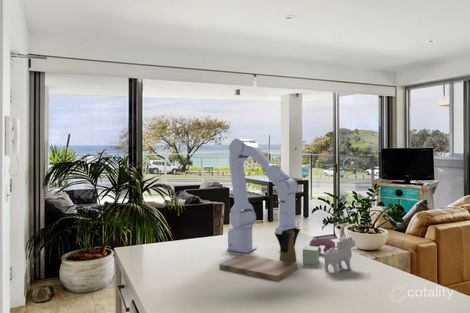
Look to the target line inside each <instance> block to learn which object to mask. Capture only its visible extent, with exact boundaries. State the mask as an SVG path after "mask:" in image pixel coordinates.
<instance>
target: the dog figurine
mask: <svg viewBox="0 0 470 313" xmlns="http://www.w3.org/2000/svg"><path fill="white" fill-rule="evenodd" d="M355 246H356V242H355V240H354V239H353V237H352V236H348V237H347V234H343V235H342V237H341V238H340V240H338V241H337V242H336V245H335V248H331V249H329V250H328V251H326V253H325V252H324V254H323V259H324V270H325V271H326V272H327V271H329V266H332V267H333V274H339V271H338V267H340V268H341V267H343V264H342V262H343V261H344V264H345V266H346V269H347V270H348V271H349V270H350V269H351V270H352V267H351V259H352V256H353V253H352V248H355Z"/></svg>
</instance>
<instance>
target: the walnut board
mask: <svg viewBox="0 0 470 313" xmlns="http://www.w3.org/2000/svg"><path fill="white" fill-rule="evenodd" d="M218 269H219V270H224V271H229V272H234V273H239V274H243V275H249V276H252V277H253V276H254V277H258V278H262V279H266V280H267V279H268V280H272V281H276V282H277V281H278V282H279V281H280V280H281V279H283V278H284V277H286V276H288V275H289V274H291V273H292V272H294V271H296V270H297V269H298V263H295V262H284V261H280V260H278V259H273V258H272V259H271V258H267V257H261V256H260V257H259V256H254V255H249V254H245V253H244V254H243V253H242V254H240V255H237V256H234V257H232V258H230V259H229V260H225V261H223V262H222V263H219V268H218Z"/></svg>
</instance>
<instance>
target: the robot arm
mask: <svg viewBox="0 0 470 313" xmlns="http://www.w3.org/2000/svg"><path fill="white" fill-rule="evenodd" d="M228 149H229V150H228V151H229V158H228V163H229V170H230V177H231V178H230V179H231V185H232V186H231V187H232V194H233V202H234V204H233V206H232V207H231V208H230V210H229V211H230V216H229V222H230V225H231V226H230V227H229V228H228V231H227V247H226V250H227V251H233V252H238V253H239V252H240V253H244V254H247V253H249V252H252V251H254V250H256V249H257V247H256V246H253V227H254V224H255V223H256V220H257V215H256V212H255V210H254V206H253V205H252V204H251V203H250V202H249V197H248V189H247V183H246V182H247V181H246V174H245V168H244V167H245V166H244V163H245V161H247V159H249V158H252V159H253V160H255V161H256V163H257V164H258V165H260V166H261V168H263V169H264V175H265V176H266V178H267V179H269V181H270V182H271V183H272V184H273V185H274V186H275V192H276V194H277V196H278V203H279V204H278V205H279V206H278V208H279V210H278V216H279V224H278V225H277V227H276V228H275V231H274V235H275V237H276V239H277V241H278V244H279V249H280V248H281V252H285V253H287V252H288V244H289V239H290V236H291V234H289V233H287V232H286V231H287V230H288V229H292V230H294V232H295V237H294V238H293V239H294V246H295V247H296V242H297V238H298V235H299V233H300V232H301V229H300V228H299V227H300V226H299V221H297V220H296V193H297V192H298V190H299V185H298V184H299V183H298V182H297V180H296V178H291V177H290V176H289V174H286V173H285V172H284V170H282V168H281V165H279V164H276V163H272V162H271V161H270V159H269V158H268V157H267V155H266V154H265V153H264V152H263V150H261V148H260V144H259V143H257V141H255V139H253V138H234V139H233V140H232V141H230V143H229V145H228Z"/></svg>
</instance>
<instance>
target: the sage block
mask: <svg viewBox="0 0 470 313" xmlns="http://www.w3.org/2000/svg"><path fill="white" fill-rule="evenodd" d="M319 262H320V253H319V247H315V246H309V245H304V246H303V248H302V264H304V265H305V264H306V265H314V266H315V265H318V264H319Z"/></svg>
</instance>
